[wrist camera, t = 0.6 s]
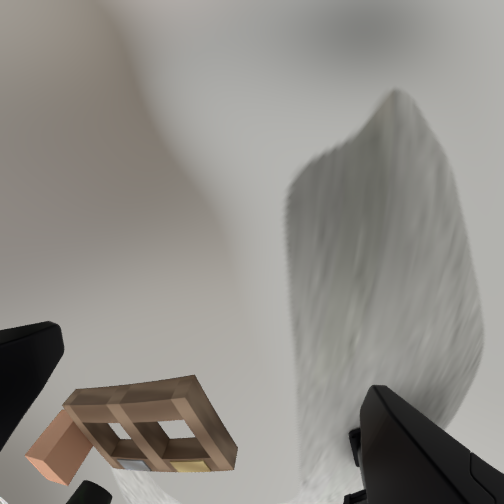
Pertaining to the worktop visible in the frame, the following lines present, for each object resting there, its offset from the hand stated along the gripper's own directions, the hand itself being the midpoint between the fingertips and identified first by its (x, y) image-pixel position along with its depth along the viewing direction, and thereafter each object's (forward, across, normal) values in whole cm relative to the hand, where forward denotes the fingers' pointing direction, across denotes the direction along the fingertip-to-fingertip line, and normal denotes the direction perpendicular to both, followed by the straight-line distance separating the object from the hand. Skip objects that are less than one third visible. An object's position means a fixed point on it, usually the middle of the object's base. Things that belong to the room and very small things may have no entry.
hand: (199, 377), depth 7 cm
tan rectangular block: (+14, +18, +24) cm, 33 cm away
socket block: (+14, +8, +19) cm, 25 cm away
